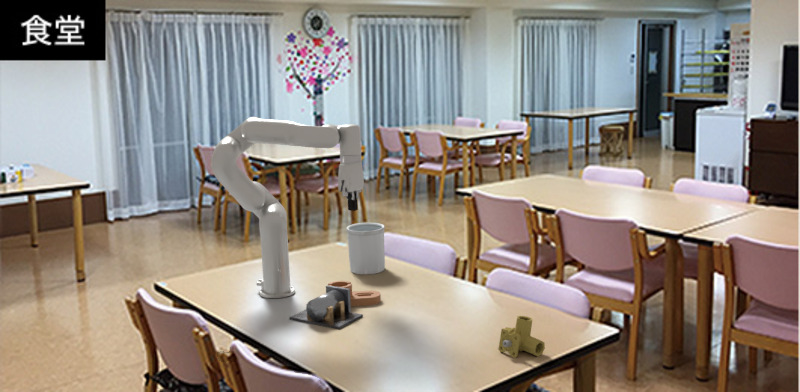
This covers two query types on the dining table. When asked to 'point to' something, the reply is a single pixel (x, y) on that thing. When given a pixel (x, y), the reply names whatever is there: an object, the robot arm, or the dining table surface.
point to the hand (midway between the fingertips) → (352, 210)
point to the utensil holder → (366, 248)
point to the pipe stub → (329, 309)
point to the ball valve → (520, 339)
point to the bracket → (359, 294)
